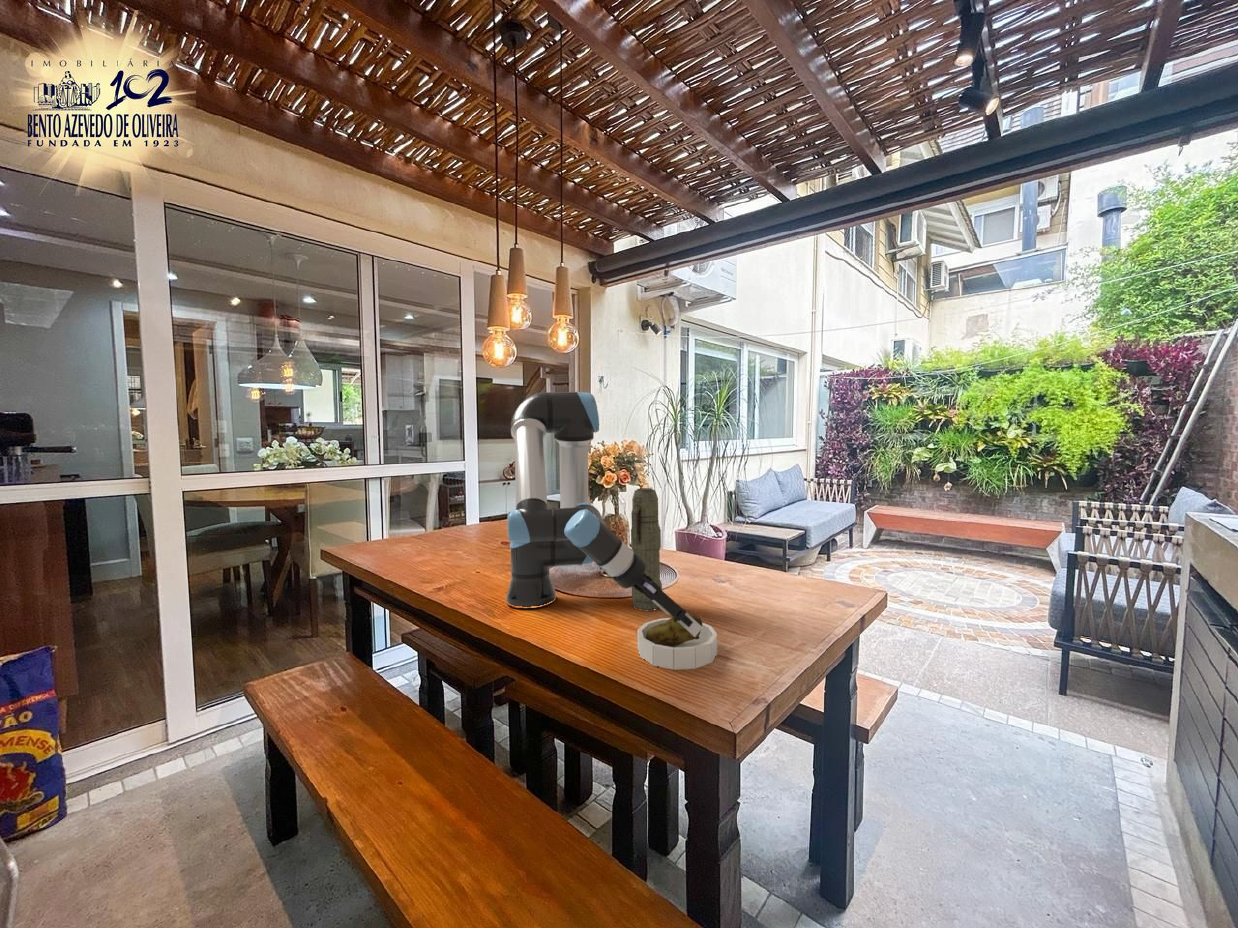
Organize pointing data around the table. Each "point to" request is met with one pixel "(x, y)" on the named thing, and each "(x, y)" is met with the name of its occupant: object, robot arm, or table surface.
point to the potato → (671, 632)
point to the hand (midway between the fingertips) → (684, 620)
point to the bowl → (678, 649)
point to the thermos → (646, 541)
